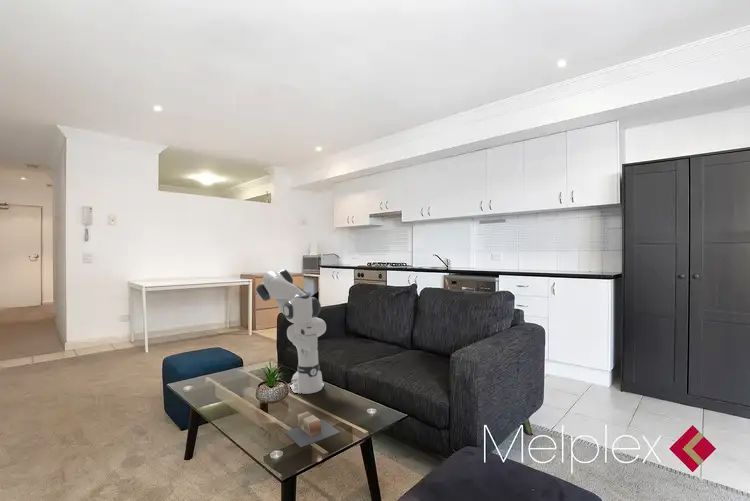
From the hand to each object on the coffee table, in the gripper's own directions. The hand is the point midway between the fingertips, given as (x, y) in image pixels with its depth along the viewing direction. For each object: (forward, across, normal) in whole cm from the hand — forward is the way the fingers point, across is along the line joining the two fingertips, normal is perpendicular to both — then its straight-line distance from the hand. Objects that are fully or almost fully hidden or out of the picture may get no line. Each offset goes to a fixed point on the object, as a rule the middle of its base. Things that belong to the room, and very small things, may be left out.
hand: (304, 357), depth 173 cm
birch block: (+24, +8, -6) cm, 26 cm away
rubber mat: (+27, +17, -6) cm, 33 cm away
